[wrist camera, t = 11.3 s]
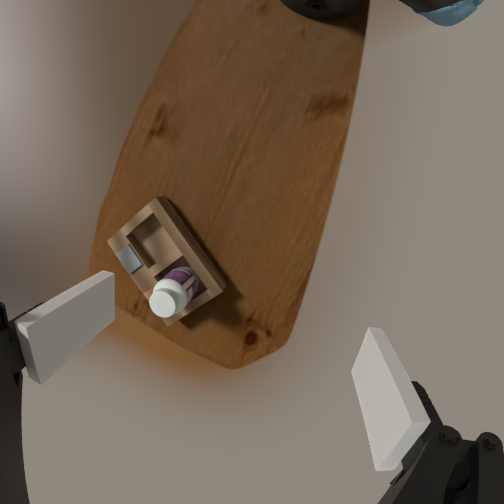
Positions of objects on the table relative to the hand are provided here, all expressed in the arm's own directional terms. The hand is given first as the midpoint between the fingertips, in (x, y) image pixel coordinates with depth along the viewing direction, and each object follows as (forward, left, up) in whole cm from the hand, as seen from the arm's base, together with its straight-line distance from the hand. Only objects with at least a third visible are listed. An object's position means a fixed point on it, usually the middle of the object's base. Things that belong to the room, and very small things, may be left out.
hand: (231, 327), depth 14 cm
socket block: (+17, -5, -32) cm, 36 cm away
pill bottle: (+16, -1, -31) cm, 35 cm away
